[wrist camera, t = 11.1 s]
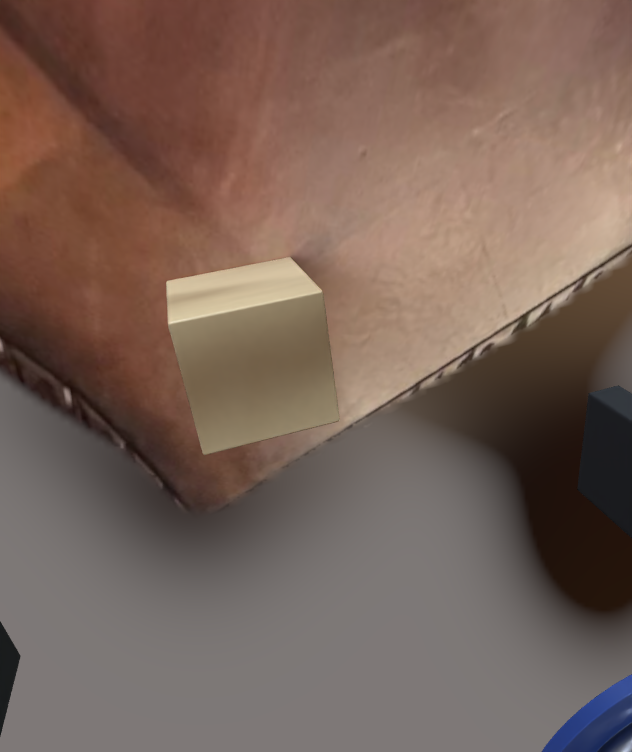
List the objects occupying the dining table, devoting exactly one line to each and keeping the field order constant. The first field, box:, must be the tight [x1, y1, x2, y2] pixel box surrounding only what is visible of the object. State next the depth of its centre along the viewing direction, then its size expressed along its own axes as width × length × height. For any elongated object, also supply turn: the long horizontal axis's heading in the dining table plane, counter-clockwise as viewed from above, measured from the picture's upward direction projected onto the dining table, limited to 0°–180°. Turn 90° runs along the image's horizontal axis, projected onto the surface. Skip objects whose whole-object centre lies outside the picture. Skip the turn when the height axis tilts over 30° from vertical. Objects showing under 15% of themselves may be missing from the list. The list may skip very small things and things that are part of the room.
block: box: [166, 257, 339, 455], centre depth 21 cm, size 5×5×5 cm
